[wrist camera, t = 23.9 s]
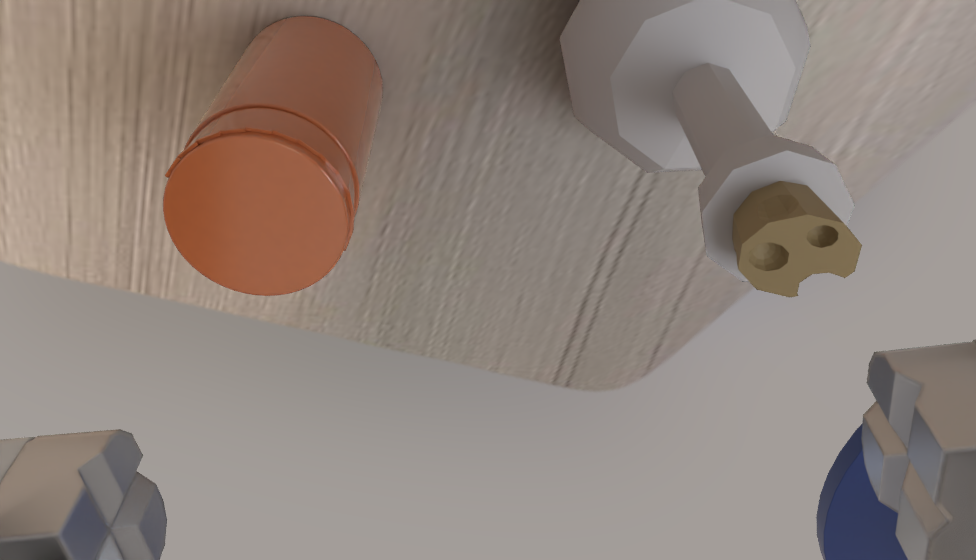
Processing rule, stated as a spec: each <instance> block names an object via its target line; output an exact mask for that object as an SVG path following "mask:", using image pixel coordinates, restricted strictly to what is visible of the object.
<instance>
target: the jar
mask: <svg viewBox="0 0 976 560" xmlns="http://www.w3.org/2000/svg"><path fill="white" fill-rule="evenodd" d="M382 98H383V84H382V77H381V74H380V70H379V67H378V65H377V62H376V60H375V59H374V57H373V55H372V53H371V52H370V50H369V49H368V48H367V46H366V45H365V44H364V43H363V42H362V41H361V40H360V39H359V38H358V37H357V36H356V35H354V34H353V33H352V32H351V31H349V30H348V29H346V28H344V27H343V26H341V25H339V24H337V23H335V22H332V21H329V20H326V19H322V18H317V17H309V16H299V17H291V18H286V19H283V20H280V21H277V22H275V23H273V24H271V25H269V26H268V27H266V28H265V29H263V30H262V31H261V32H260V33H259V34H258V35H257V36H256V37H255V38H254V39H253V40H252V42H251V43H250V44H249V46H248V47H247V49H246V50H245V52H244V54H243V55H242V57H241V58H240V60H239V61H238V63H237V64H236V66H235V67H234V69H233V71H232V72H231V74H230V75H229V77H228V78H227V80H226V81H225V83H224V85H223V86H222V88H221V89H220V91H219V92H218V94H217V95H216V97H215V99H214V100H213V102H212V103H211V105H210V106H209V108H208V109H207V111H206V113H205V114H204V116H203V117H202V119H201V120H200V122H199V123H198V125H197V127H196V128H195V130H194V131H193V133H192V134H191V136H190V138H189V139H188V141H187V143H186V145H185V148H184V150H183V151H182V152H181V153H180V154H179V155H178V156H177V158H176V159H175V161H174V162H173V164H172V165H171V167H170V168H169V170H168V172H167V173H166V175H165V176H166V177H168V181H167V184H166V187H165V191H164V197H163V211H164V219H165V223H166V226H167V229H168V232H169V234H170V237H171V239H172V241H173V243H174V244H175V246H176V248H177V249H178V251H179V252H180V253H181V254H182V256H183V257H184V258H185V259H186V260H187V261H188V262H189V263H190V264H191V265H192V266H193V267H194V268H195V269H196V270H197V271H199V272H200V273H201V274H202V275H204V276H205V277H207V278H209V279H210V280H212V281H214V282H216V283H217V284H219V285H221V286H224V287H226V288H229V289H232V290H234V291H238V292H242V293H246V294H252V295H263V296H272V295H283V294H289V293H292V292H296V291H299V290H302V289H304V288H307V287H309V286H311V285H312V284H314V283H316V282H317V281H319V280H320V279H322V278H323V277H324V276H325V275H327V274H328V273H329V272H330V271H331V270H332V268H333V267H334V266H335V265H336V263H337V262H338V260H339V259H340V257H341V255H342V253H343V251H346V248H347V246H348V243H349V241H350V238H351V235H352V233H353V230H354V218H355V215H356V212H357V208H358V205H359V200H360V196H361V192H362V187H363V183H364V178H365V174H366V170H367V165H368V161H369V157H370V152H371V148H372V144H373V139H374V135H375V131H376V126H377V122H378V118H379V113H380V109H381V105H382Z"/></svg>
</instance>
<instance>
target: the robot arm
mask: <svg viewBox="0 0 976 560" xmlns="http://www.w3.org/2000/svg"><path fill="white" fill-rule="evenodd" d="M867 384H868V386H869V388H870V389H871V391H872V393H873V395H874V397H875V398H876V400H877V401H876V402H875V403H874V404H873V405H872V406H871V407H870V408H869V409H868V411H866V413H865V414H864V415H863V424H862V438H861V440H862V448H863V456H864V463H865V467H866V470H867V473H868V477H869V480H870V483H871V485H872V487H873V489H874V491H875V494H876V496H877V498H878V500H879V502H881V503H883V504H884V505H886V506H887V507H889V508H890V509H892V510H893V511H895V512H897V513H898V518H897V525H896V533H895V535H896V537H897V539H898V541H899V543H900V545H901V547H902V549H903V551H904V553H905V555H906V557H907V559H908V560H976V340H973V341H972V342H962V343H953V344H944V345H935V346H926V347H916V348H907V349H898V350H889V351H879V352H874V354H873V356H872V358H871V361H870V363H869V369H868V377H867ZM142 456H143V454H142V453H141V451H140V449H139V447H138V445H137V443H136V441H135V439H134V437H133V435H132V434H131V433H129V432H126V431H123V430H106V431H94V432H82V433H70V434H56V435H44V436H37V437H27V438H15V439H4V440H0V560H160V557H161V554H162V551H163V549H164V546H165V536H166V524H167V518H166V513H165V508H164V502H163V499H162V497H161V494H160V492H159V490H158V487H157V485H156V484H155V483H153V482H152V481H150V480H149V479H147V478H146V477H144V476H143V475H142V474H140V473H139V472H137V468H138V466H139V464H140V461H141V459H142Z"/></svg>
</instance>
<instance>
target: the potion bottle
mask: <svg viewBox="0 0 976 560" xmlns="http://www.w3.org/2000/svg"><path fill="white" fill-rule="evenodd" d="M560 43H561V49H562V54H563V59H564V65H565V70H566V76H567V81H568V86H569V92H570V97H571V103H572V108H573V113H574V117H576V118H577V119H578V120H579V121H580V122H581V123H582V124H583V125H585V126H586V127H587V128H588V129H589V130H590V131H591V132H593V133H594V134H595V135H597V136H598V137H600V138H601V139H602V140H604V141H605V142H606V143H608V144H609V145H610V146H612V147H613V148H614V149H616V150H617V151H619V152H620V153H621V154H623V155H624V156H625V157H627V158H628V159H629V160H631V161H632V162H633V163H635V164H636V165H638V166H639V167H640V168H642V169H643V170H644V171H646V172H647V173H650V172H671V171H692V170H702V171H703V173H704V175H705V179H704V180H703V182H702V183H701V184H700V186H699V187H698V192H699V201H700V210H701V219H702V228H703V234H704V241H705V247H706V254H707V257H709V258H710V259H711V260H713V261H714V262H716V263H717V264H718V265H720V266H721V267H723V268H724V269H725V270H727V271H728V272H730V273H731V274H732V275H734V276H735V277H737V278H738V279H739V280H741V281H742V282H750V283H751V284H752V285H753V286H754V287H755V288H756V289H757V290H761V291H765V292H769V293H774V294H778V295H782V296H786V297H794V296H798V294H797V292H798V287H799V283H800V282H801V281H803V280H804V279H806V278H807V277H809V276H810V275H812V274H819V273H832V274H835V275H838V276H841V277H844V278H845V277H847V276H849V275H850V274H851V273H853V272H854V271H855V268H856V264H857V261H858V257H859V254H860V250H861V247H862V245H861V244H860V242H859V241H858V240H857V238H856V237H855V236H854V235H853V234H852V232H851V231H850V230H849V229H848V227H847V224H848V221H849V219H850V216H851V214H852V211H853V209H854V206H855V204H854V202H853V200H852V198H851V196H850V194H849V192H848V190H847V187H846V185H845V183H844V181H843V179H842V177H841V175H840V173H839V171H838V168H837V166H836V165H835V164H834V163H833V162H831V161H830V160H829V159H827V158H826V157H825V156H824V155H822V154H821V153H820V152H818V151H817V150H816V149H814V148H813V147H811V146H808V145H805V144H801V143H798V142H795V141H791V140H788V139H785V138H781V137H778V136H775V135H773V134H772V131H774V130H775V129H776V128H778V127H779V126H780V125H782V124H783V123H784V122H786V120H787V117H788V113H789V110H790V107H791V104H792V101H793V98H794V95H795V92H796V89H797V86H798V83H799V80H800V77H801V74H802V71H803V68H804V65H805V62H806V59H807V56H808V53H809V50H810V47H811V46H810V40H809V34H808V28H807V24H806V22H805V20H804V18H803V15H802V13H801V11H800V9H799V6H798V4H797V2H796V0H580V2H579V3H578V5H577V7H576V9H575V10H574V12H573V14H572V16H571V17H570V19H569V21H568V23H567V25H566V27H565V28H564V30H563V32H562V34H561V36H560Z"/></svg>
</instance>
